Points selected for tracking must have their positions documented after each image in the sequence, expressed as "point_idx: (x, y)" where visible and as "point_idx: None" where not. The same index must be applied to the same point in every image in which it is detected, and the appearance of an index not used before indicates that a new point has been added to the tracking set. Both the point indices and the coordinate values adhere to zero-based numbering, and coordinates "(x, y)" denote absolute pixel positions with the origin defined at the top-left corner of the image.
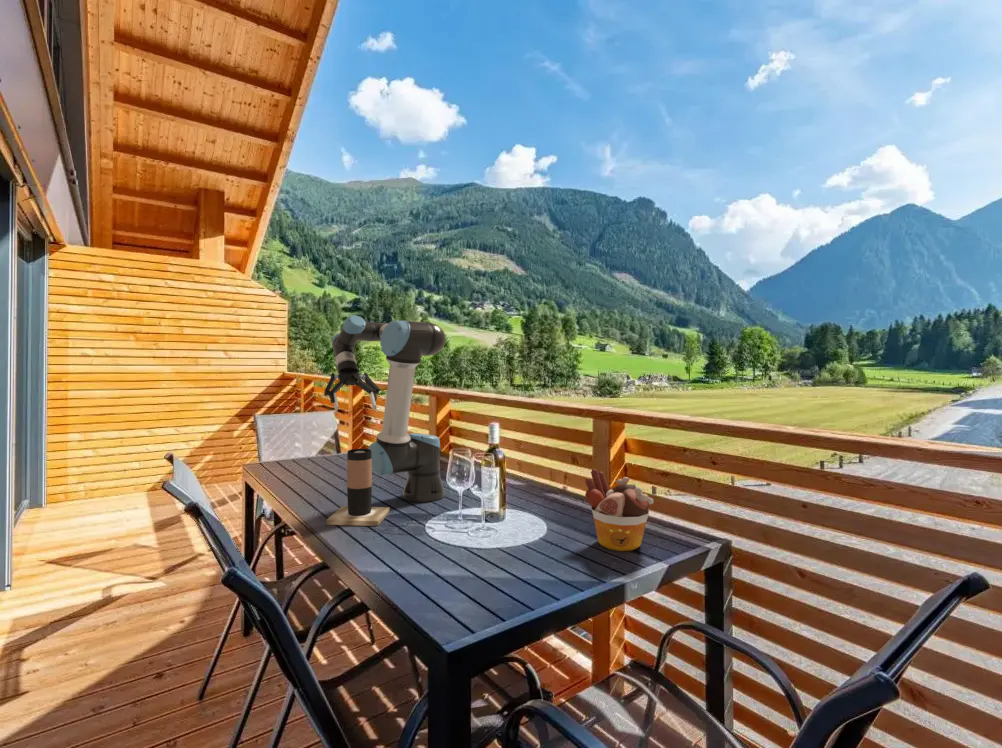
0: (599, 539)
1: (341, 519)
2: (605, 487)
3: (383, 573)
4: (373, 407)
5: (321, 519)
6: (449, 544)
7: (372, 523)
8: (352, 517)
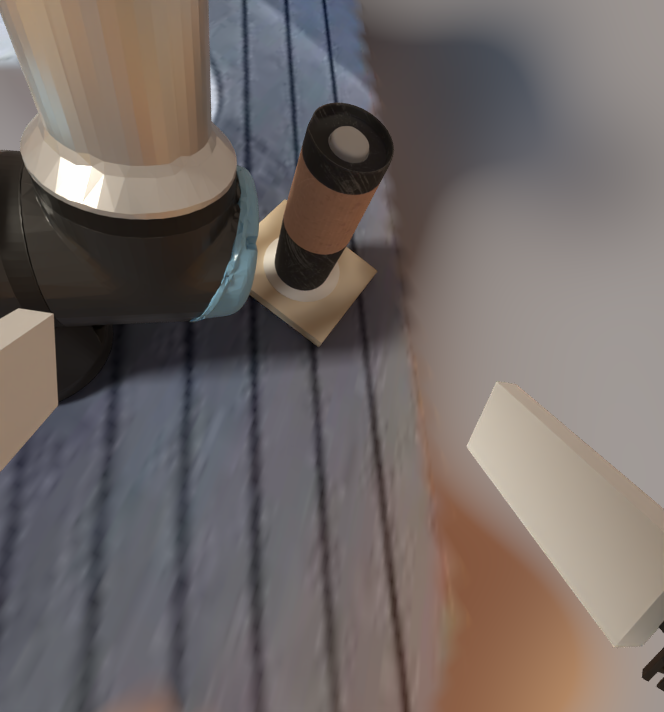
0: None
1: (349, 254)
2: None
3: (346, 65)
4: (54, 365)
5: (375, 314)
6: (211, 62)
7: None
8: None
